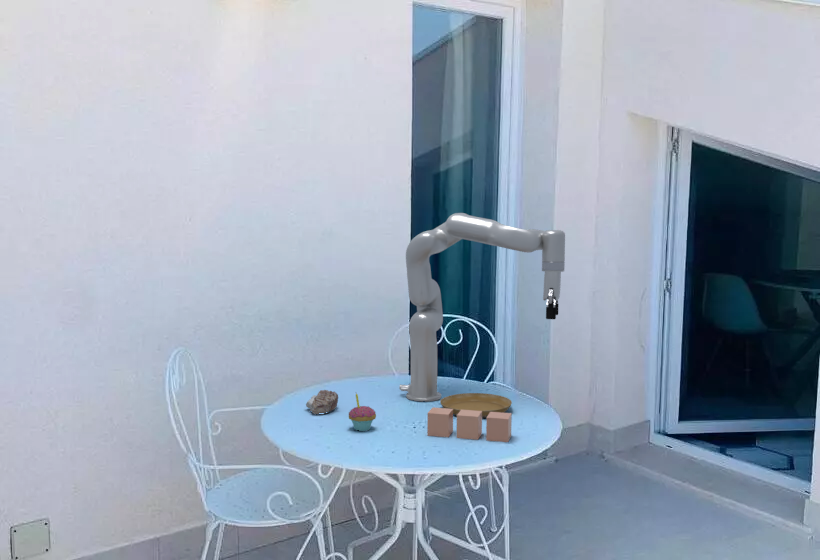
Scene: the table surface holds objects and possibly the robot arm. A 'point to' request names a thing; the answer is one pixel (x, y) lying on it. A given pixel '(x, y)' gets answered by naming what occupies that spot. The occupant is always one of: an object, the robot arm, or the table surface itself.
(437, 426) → the peach toy brick
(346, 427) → the table surface
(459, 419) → the toy block
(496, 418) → the salmon orange block
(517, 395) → the table surface
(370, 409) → the cupcake
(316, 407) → the seashell
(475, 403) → the plant saucer
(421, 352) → the robot arm
